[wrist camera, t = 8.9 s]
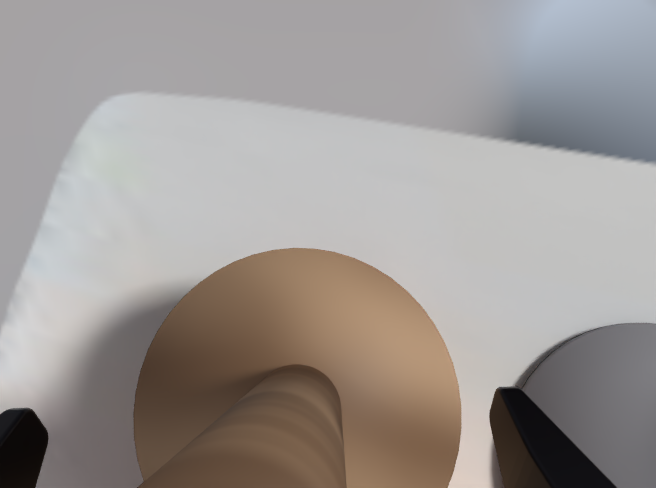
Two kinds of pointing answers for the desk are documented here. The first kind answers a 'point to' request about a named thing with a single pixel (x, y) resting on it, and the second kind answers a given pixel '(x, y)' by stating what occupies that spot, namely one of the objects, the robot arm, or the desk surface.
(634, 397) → the mat
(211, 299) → the lid
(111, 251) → the desk surface
